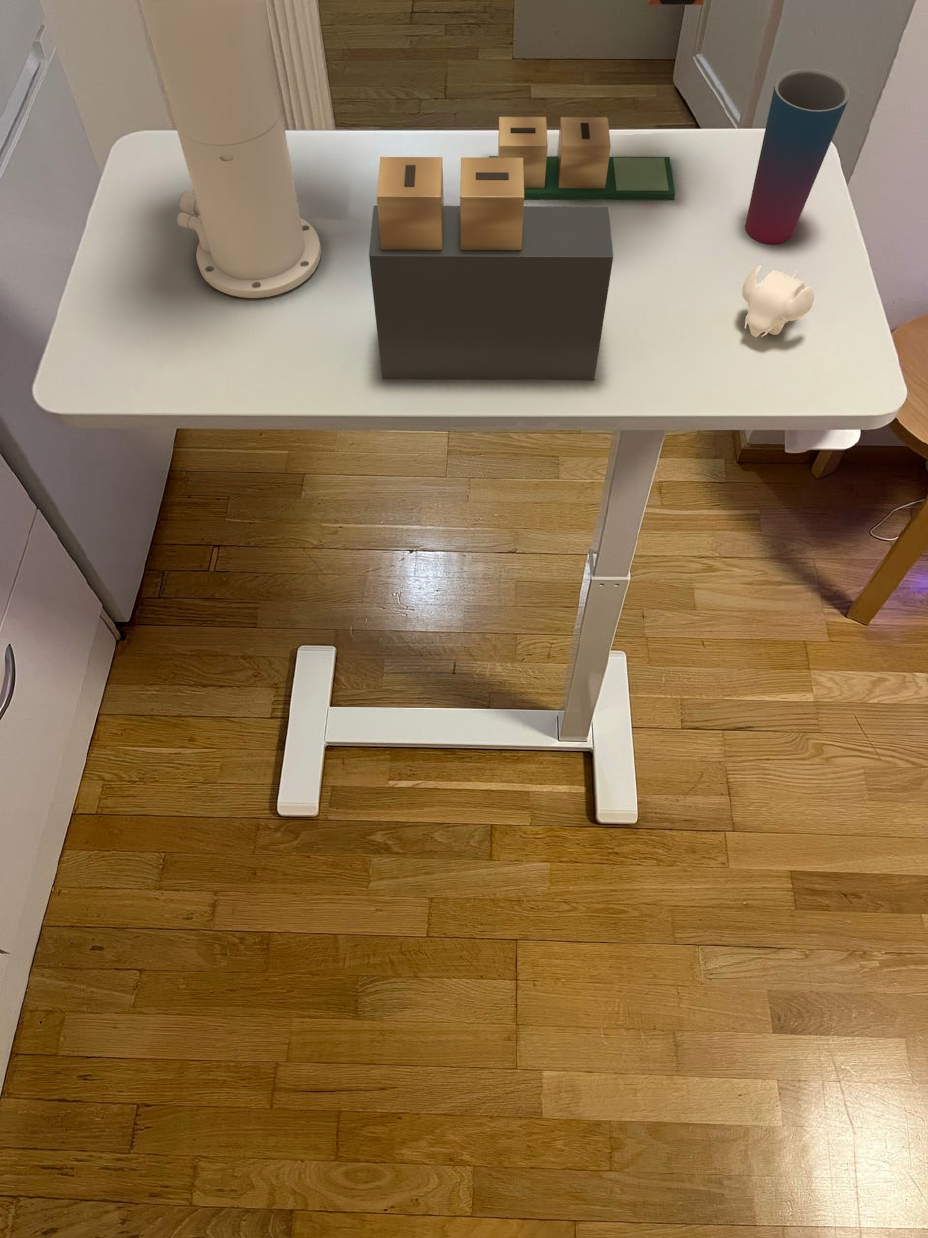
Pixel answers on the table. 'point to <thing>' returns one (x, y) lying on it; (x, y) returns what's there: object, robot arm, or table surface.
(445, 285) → the near dark gray stand
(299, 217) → the robot arm
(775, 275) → the elephant figurine
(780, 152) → the cup
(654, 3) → the slotted orange cube
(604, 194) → the green tile rack
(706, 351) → the table surface
